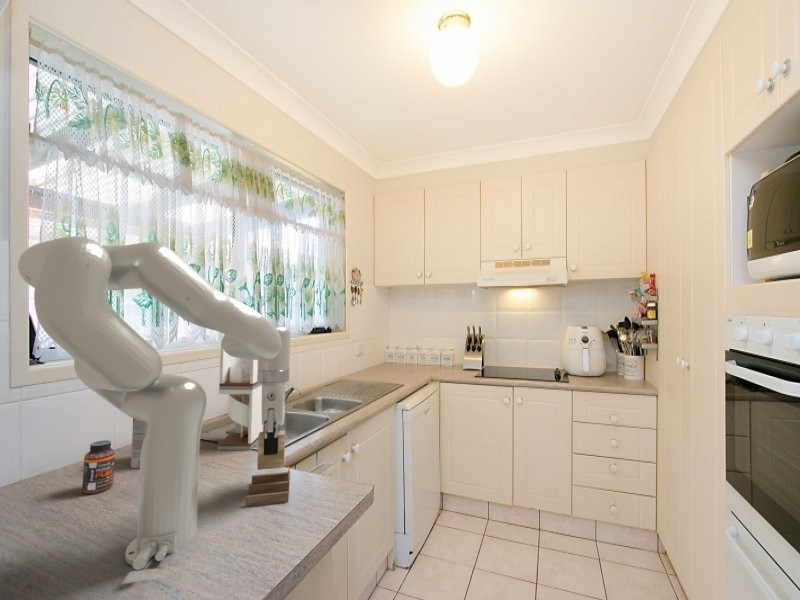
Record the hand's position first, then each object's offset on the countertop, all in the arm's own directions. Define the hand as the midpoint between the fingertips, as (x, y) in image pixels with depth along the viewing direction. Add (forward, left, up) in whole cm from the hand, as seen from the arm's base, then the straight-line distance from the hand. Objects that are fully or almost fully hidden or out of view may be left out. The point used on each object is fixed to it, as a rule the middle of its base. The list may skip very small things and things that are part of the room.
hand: (271, 450), depth 90 cm
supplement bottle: (+12, +41, -10) cm, 44 cm away
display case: (+38, +12, -10) cm, 41 cm away
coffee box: (+28, +35, -10) cm, 46 cm away
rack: (-3, 0, -10) cm, 11 cm away
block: (0, 0, -4) cm, 4 cm away
